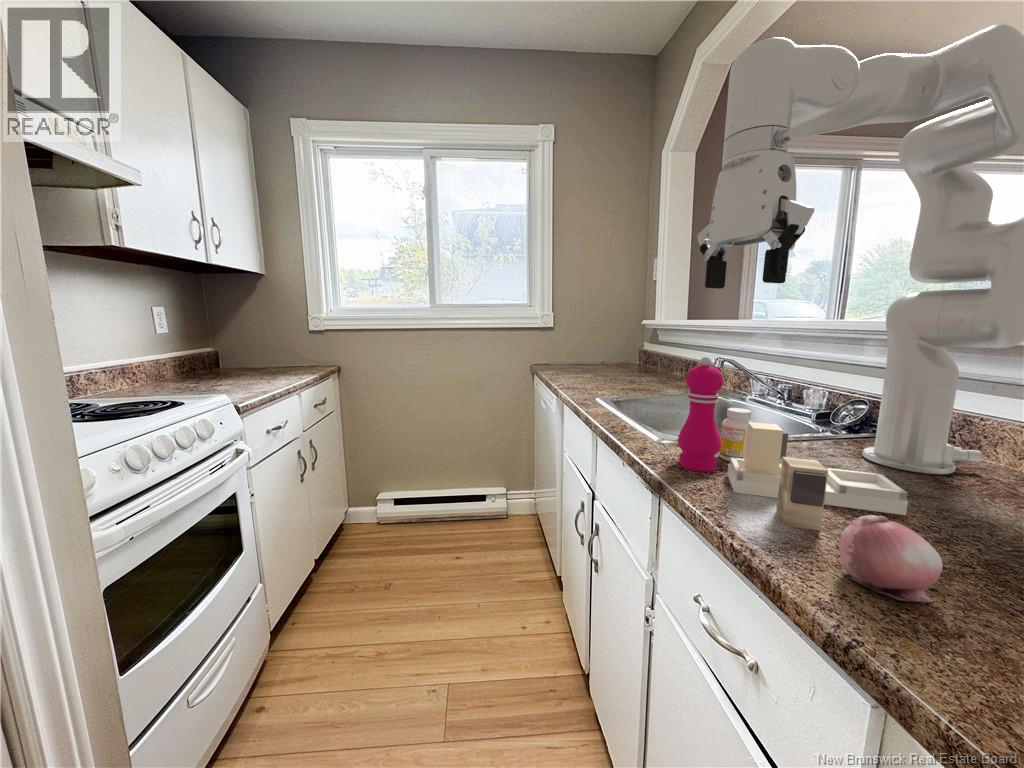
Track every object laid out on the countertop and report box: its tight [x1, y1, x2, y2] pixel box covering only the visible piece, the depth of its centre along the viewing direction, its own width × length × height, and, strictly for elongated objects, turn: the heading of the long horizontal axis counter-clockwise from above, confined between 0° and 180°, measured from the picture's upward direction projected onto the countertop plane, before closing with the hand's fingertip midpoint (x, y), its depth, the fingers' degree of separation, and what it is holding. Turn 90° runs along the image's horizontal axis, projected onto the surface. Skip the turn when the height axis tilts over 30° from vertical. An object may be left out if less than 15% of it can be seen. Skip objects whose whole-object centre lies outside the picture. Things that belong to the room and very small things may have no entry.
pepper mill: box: [677, 356, 724, 473], centre depth 74 cm, size 7×7×20 cm
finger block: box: [775, 456, 828, 532], centre depth 54 cm, size 5×4×8 cm
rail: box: [727, 421, 909, 516], centre depth 63 cm, size 21×8×10 cm, turn 70°
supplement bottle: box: [718, 407, 752, 462], centre depth 79 cm, size 5×5×10 cm
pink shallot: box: [838, 514, 944, 604], centre depth 41 cm, size 8×8×7 cm
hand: (741, 285), depth 57 cm, fingers open, 9 cm apart
